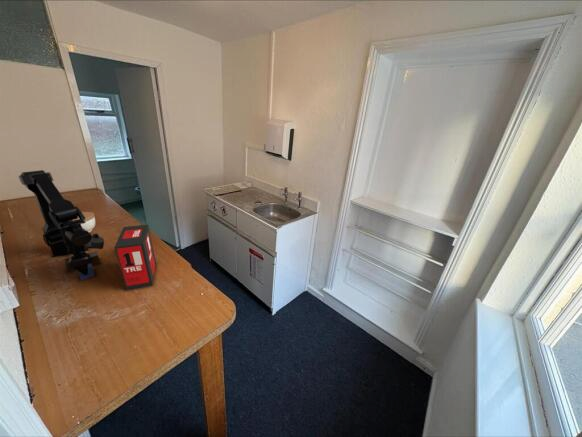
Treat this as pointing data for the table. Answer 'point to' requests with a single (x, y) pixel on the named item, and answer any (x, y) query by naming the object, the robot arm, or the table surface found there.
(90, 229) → the lidded bowl
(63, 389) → the table surface
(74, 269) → the walnut block
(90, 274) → the blue block
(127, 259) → the cleaning product box
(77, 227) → the robot arm
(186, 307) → the table surface
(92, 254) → the walnut block
